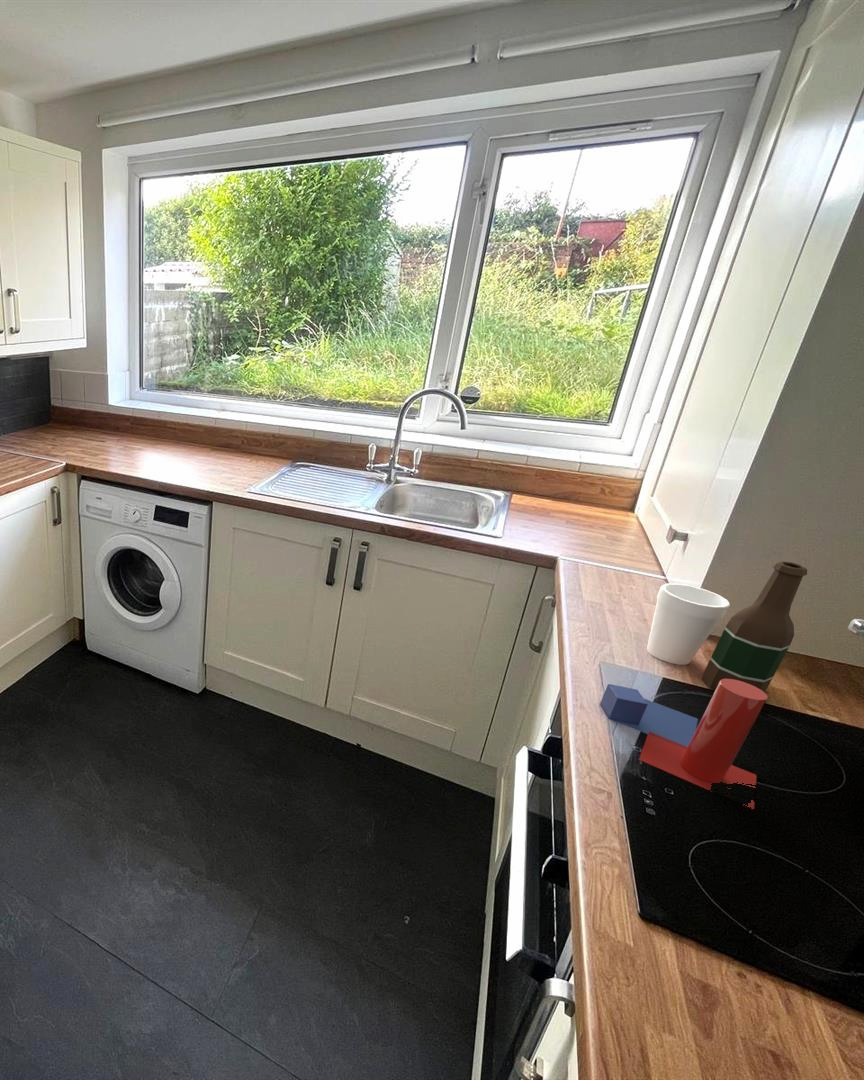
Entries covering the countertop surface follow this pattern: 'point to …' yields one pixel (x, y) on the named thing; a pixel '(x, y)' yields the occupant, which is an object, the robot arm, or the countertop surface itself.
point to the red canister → (722, 730)
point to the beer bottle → (758, 633)
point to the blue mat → (666, 723)
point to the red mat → (669, 759)
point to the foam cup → (683, 621)
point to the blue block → (623, 704)
